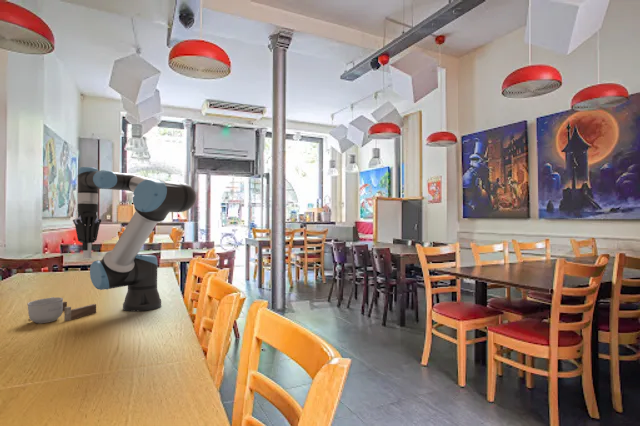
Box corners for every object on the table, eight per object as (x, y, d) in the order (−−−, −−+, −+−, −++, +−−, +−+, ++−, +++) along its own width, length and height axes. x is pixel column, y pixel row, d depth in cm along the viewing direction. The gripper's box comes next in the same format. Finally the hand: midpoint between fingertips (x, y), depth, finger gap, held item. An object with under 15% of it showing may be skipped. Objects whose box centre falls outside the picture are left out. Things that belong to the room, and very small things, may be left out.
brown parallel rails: (96, 312, 153) (96, 300, 153) (67, 321, 141) (67, 307, 141) (64, 309, 158) (64, 298, 158) (33, 317, 146) (33, 304, 146)
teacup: (52, 324, 136) (52, 302, 136) (20, 325, 135) (20, 303, 135) (72, 315, 150) (72, 295, 150) (43, 315, 148) (43, 295, 149)
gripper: (92, 203, 169) (92, 256, 168) (67, 202, 156) (66, 259, 155) (107, 203, 167) (106, 256, 167) (82, 202, 154) (82, 259, 154)
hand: (87, 257), depth 161 cm, fingers closed
